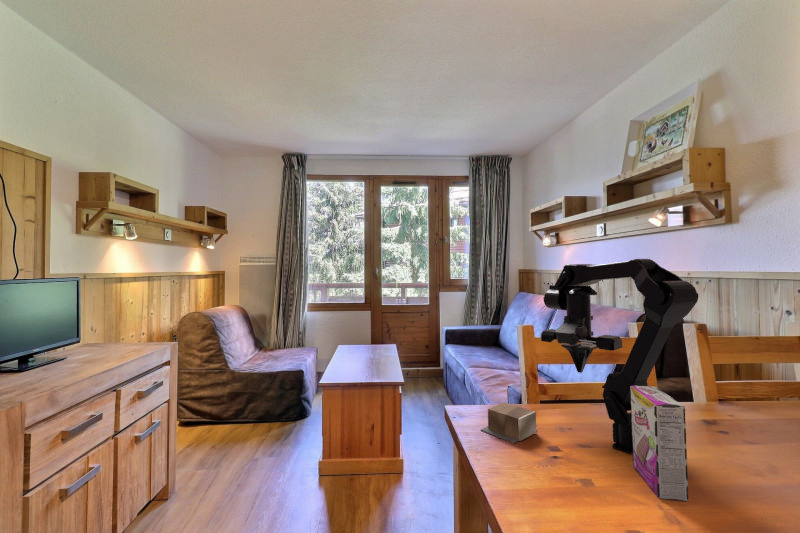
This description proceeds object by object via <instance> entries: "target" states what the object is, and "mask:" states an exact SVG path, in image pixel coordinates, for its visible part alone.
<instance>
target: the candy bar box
mask: <svg viewBox="0 0 800 533" xmlns="http://www.w3.org/2000/svg"><path fill="white" fill-rule="evenodd" d="M630 390H631V411H630V412H631V415H632V439H633V454H632V461H633V462H632V465H633V468H634V470H635V471H636V472H637V473H638V474H639V475H640V477H641V478H642V479H643V481H644V482H645V483H646V485H648V488H650V489H651V491H652V492H653V494H654V495H656V497H657V498H658V499H659V500H663V501H664V500H665V501H678V502H689V478H688V477H689V474H688V452H687V451H688V450H687V449H688V448H687V427H686V426H687V425H686V424H687V423H686V405H684V404H682V403H681V402H680V401H678V400H676V399H675V398H673V397H672V396H670V395H669V394H667V392H664V391H663V390H662V389H660V388H659V387H658V386H650V385H648V386H630Z"/></svg>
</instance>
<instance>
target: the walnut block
mask: <svg viewBox="0 0 800 533" xmlns="http://www.w3.org/2000/svg"><path fill="white" fill-rule="evenodd" d="M487 426H488V429H489V430H492V431H495V432H497V433H500V434H503V435H505V436H508V437H511V438H514V439H516V440H519V441H518V442H520V441H523V440H525V439H526V438H528V437H530V436H532V435H534V434H537V431H536V430H537V412H536V411H534V410H531V409H527V408H524V407H521V406H517V405H514V404H511V403H507V402H502V403H500V404H497V405H494V406H492V407H489V408H487Z"/></svg>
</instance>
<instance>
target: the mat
mask: <svg viewBox="0 0 800 533" xmlns="http://www.w3.org/2000/svg"><path fill="white" fill-rule="evenodd" d="M480 431H481V432H483V433H486V434H489V435H491V436H493V437H497V438H500V439H501V440H504V441H507V442H510V443H512V444H515V443H517V442H520V441H519V440H516V439H514V438H511V437H508V436H505V435H503V434H500V433H497V432H495V431H492V430H489V429H488V425H487V426H486V427H483V428H481V429H480ZM536 432H538V429H536Z"/></svg>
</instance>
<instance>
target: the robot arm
mask: <svg viewBox="0 0 800 533" xmlns="http://www.w3.org/2000/svg"><path fill="white" fill-rule="evenodd" d="M630 278H631V279H632V280H633V282H634V284H635V288H636V290H637V291H638V292H639V293H640V294H641V295H642V296H643V297H644V299H643V303H642V306H643V311H644V314H645V318H644V321H643V323H642V325H641V327H640V330H639V332H638V334H637V336H636V338H635V341H634V344H633V345H632V347H631V349H630V350H631V351H630V352H629V354H628V356H627V359H626V361H625V362H624V363H625V364H624V365H623V368H622V370H621V371H620V372H610V373H609V374H608V375H607V376H606V381H605V382H604V385H602V387H601V388H602V389H603V391H602V398H603V402H604V404H605V409H606V412H607V416H608V419H610V420H611V421H613V423H612V441H613V444H611V446H612V448H614V449H616V450H620V451H623V452H625V453H630V454H632V455H633V439H632V415H631V390H630V386H649V384H648V380H649V377H650V375H651V373H652V372H653V369H654V368H655V367H654V366H655V364H656V363H657V360H658V358H659V356H660V354H661V352H662V350H663V348H664V346H665V344H666V342H667V340H668V339H669V336H670V334H671V332H672V330H673V328H674V326H676V325H677V324H678V323H679V322H680V321H681V320H683V319H684V318H686V317H687V316H688V315H689V314H690V312H692V310H693V308H694V307H695V306H696V304H697V303H698V301H699V293H698V291H697V289H696V287H695V286H694V285H693V284H692V283H691V282H688V281H686V280H684V279H682V278H681V277H679V276H678V275H677V274H675V273H673V272H671V271H669V270H668V269H666V268H664V267H662V266H660V265H659V264H658V263H657V262H655V261H654V260H653V259H650V258H632V259H630V260H626V261H625V260H624V261H618V262H617V261H616V262H608V263H603V264H592V263H571V264H570V263H569V264H565V265H564V266H563V268H562V270H561V272H560V273H559V276H558V278H557V280H556V282H555V283H554V284H550V285H549V286H548V287H549V288H548V289H547V291H546V292H545V293H544V296H543V298H542V299H543V303H544V305H545V307H547V308H548V309H550V310H558V311H566V315H565V316H564V317H563V323H562V324H560V326H558V327H557V328H556V329H553V328H551V329H545V330H542V332H541V334H540V341H541V342H543V343H544V342H545V343H553V341H554V340H555V341H556V342H557V343H558V344H561V345H560V346H561V348H564V349H566V351H568V353H569V355H570V357H571V359H572V361H573V364H574V367H575V369H576V371H577V373H580V374H581V373H583V372H584V369H585V367H586V365H587V362H588V361H589V357H590V356H591V355H592V353H593V351H594V350H595V349H599V350H604V351H611V352H612V351H614V352H615V351H617V350H619V349H621V348H623V340H622V338H621V337H620V336H619V335H611V334H610V335H609V334H603V335H599V336H596V337H595V336H594V331H593V330H592V320H594V316H593V315H592V312H591V310H592V309H591V296H597V295H598V292H597V291H596V290H595V289H593V288H592V286H591V285H594V284H598V283H599V282H601V281H605V280H607V281H608V280H617V279H630Z"/></svg>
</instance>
